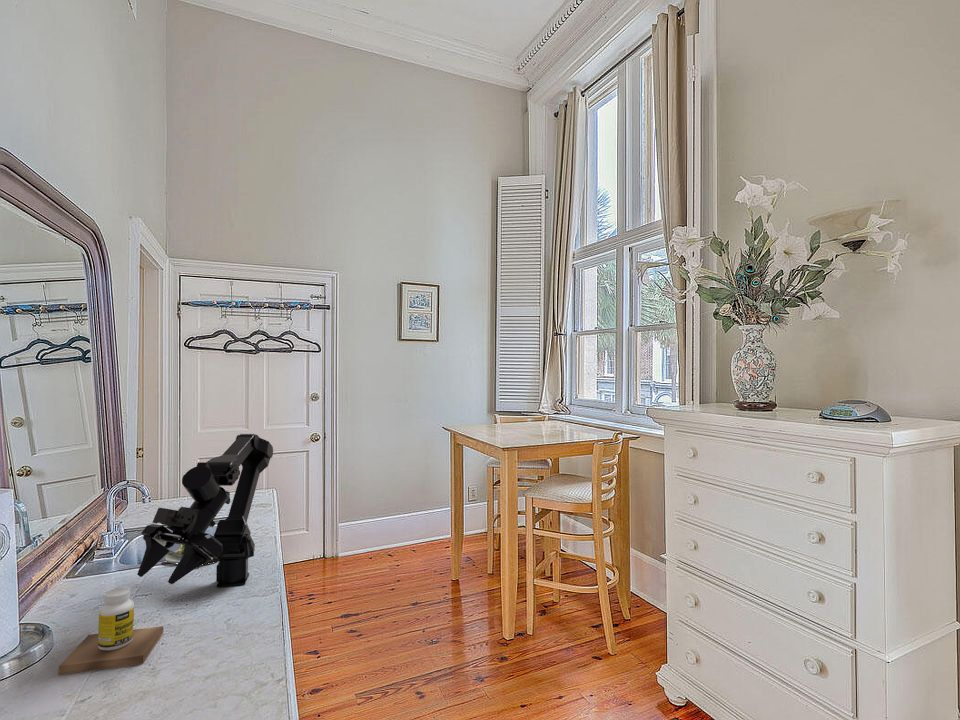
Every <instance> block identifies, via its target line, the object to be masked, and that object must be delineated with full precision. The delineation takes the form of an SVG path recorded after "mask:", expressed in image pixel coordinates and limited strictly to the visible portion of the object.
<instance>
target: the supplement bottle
mask: <svg viewBox="0 0 960 720" xmlns="http://www.w3.org/2000/svg"><path fill="white" fill-rule="evenodd" d="M103 595H104V599H103V601H104V604H102V605H101V607H100V608H99V609H98V610H99V611H98V612H99V613H98V631H97V632H98V633H97V634H98V648H99V649H100V650H104V651H110V650H116V649H119V648H122V647H124V646H126V645H128V644H129V643H130V642H131V641H132V639H133V630H134V618H135V617H134V616H135V615H134V614H135V611H134V610H135V602H134V600H132V599H131V589H130V588H129V587H118V588H117V587H116V588H114V589H111V590H109V591H106V592H105V593H104V594H103Z"/></svg>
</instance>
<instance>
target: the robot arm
mask: <svg viewBox="0 0 960 720" xmlns="http://www.w3.org/2000/svg"><path fill="white" fill-rule="evenodd" d="M273 455H274V447H273V445H272V444H271V443H270V441H268V440H266V439H264V438H262V437H260V436H259V435H258V434H256V433H240V434H237V435H236V437H235V440H234V442H233V443H232V444H231V445H230V446H229V447H228V448H227V449H226V450H225V451H224V452H223V453H222V454H221V455H219V456H216V457H212V458H210V459H208V460H207V461H205V462H204V461H203V462H201V461H198V462H197V464H196V466H195V467H192V468H190V469H188V470H187V472H185V474H183V475H182V479H181V483H182V486H183V487H184V489H185V490H186V492H187V493H188V494H189V496H190V498H192V499H193V502H192V503H191V505H190V506H189V507H185V506H181V507H180V508H179V509H177V510H176V509H171V508H165V507H158V508H157V510H156V513H155V515H154V518H153V520H152V523H150V524H148V525H146V526H145V527H144V529H143V530H142V532H140V534H141V536H142V539H143V540H144V541H145V551H144V555H143V557H142V561H141V563H140V565H139V568H138V570H137V576H138V577H140V578H142V577H144V576H145V575H146V574H147V573H149V571H150V570H152V568H154V567H155V566H156V565H157V564H158V563H159V562H160V561H161V560H162V559H163V558H164V557H166V556H167V555H166V554H167V553H168V552H169V550H170V548H171V547H173V546H174V545H179V546H180V545H185V548H184V555H183V557H182V559H181V560H180V562H179V563H178V564H176V566H175V569H174V570H173V571H172V573H171V574H170V577H169V578H168V580H167V583H168V584H170V585H174V584H175V583H176V582H178V581H179V580H181V579H183V578H184V577H185V576H187V575H188V574H190V573H191V572H193V571H194V570H195V569H197V568H198V567H200V566H203V565H202V564H204V563H205V562H207V561H211V560H212V559H211V558H210V557H212V558H213V560H219V562H217V565H216V570H215V571H216V574H215V575H216V576H215V579H216V580H215V582H216V583H217V584H216V587H217V588H221V587H230V586H231V587H232V586H242V585H246V584H247V581H248V578H249V576H250V572H249V559H250V558H253V557H254V556H255V549H256V548H255V547H256V545H255V544H256V543H255V542H254V540H253V538H252V536H251V530H250V527H249V525H248V519H249V515H250V512H251V507H252V504H253V500H254V497H255V493H256V489H257V485H258V481H259V477H260V475H261V473H262V472H263V471H264V470H266V469H267V468H268V466H269V464H270V461H271V459H272V458H273ZM240 466H241V467H242V468H241V470H240ZM236 482H237V485H236V487H235V488H236V489H235V491H234V495H233V497H232V502H231V496H230V494H231V492H230V491H228V490H226V489H225V488H224V487H225V486H227V487H230V486H231V487H232V486H233V485H235V483H236ZM223 486H224V487H223ZM230 503H231V505H230ZM225 504H226V505H230V508H229V512H228V516H227V517H226V518H224V519H219V521H218V522H216V521H214V520H215V518H216V516H217V515H218V514H219V512H220V511H221V510H222V509H223V507H224V505H225ZM216 523H217V524H216ZM215 525H216V528H215V532H214V534H213V535H212V534H211V533H206V531H207V530H208V529H209V527H210V528H214V526H215Z"/></svg>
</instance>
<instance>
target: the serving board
mask: <svg viewBox="0 0 960 720" xmlns="http://www.w3.org/2000/svg"><path fill="white" fill-rule="evenodd" d="M163 635H164V625H163V626H162V625H161V626H153V627H146V628H144V627H143V628H135V629H133V639H132V641H131V642H130V643H129V644H128V645H126V646H124V647H122V648H119V649H116V650H110V651H104V650H100V649H99V648H98V633H93V634H88V635H87V636H85V638H84V639H83V640H81V642H80V643H79V644H78V645H77V646H76V647H75V648H74V649H73V650H72V651H71V652H70V653H69V655H68V656H67V657H66V658H65V659H64V660H63V661H62V662H61V663H60V664H58V674H60V675H66V674H67V675H68V674H74V673H75V674H76V673H81V672H82V673H83V672H90V671H91V672H92V671H98V670H106V669H113V668H119V667H122V668H123V667H127V666H128V667H129V666H135V665H144V663H145V661H146V660H147V659H148V657H149V656H150V655H151V653H152V651H153V649H154V648H155V647H156V646H157V644H158V642H159V641H160V639H161V638H162V636H163Z"/></svg>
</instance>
